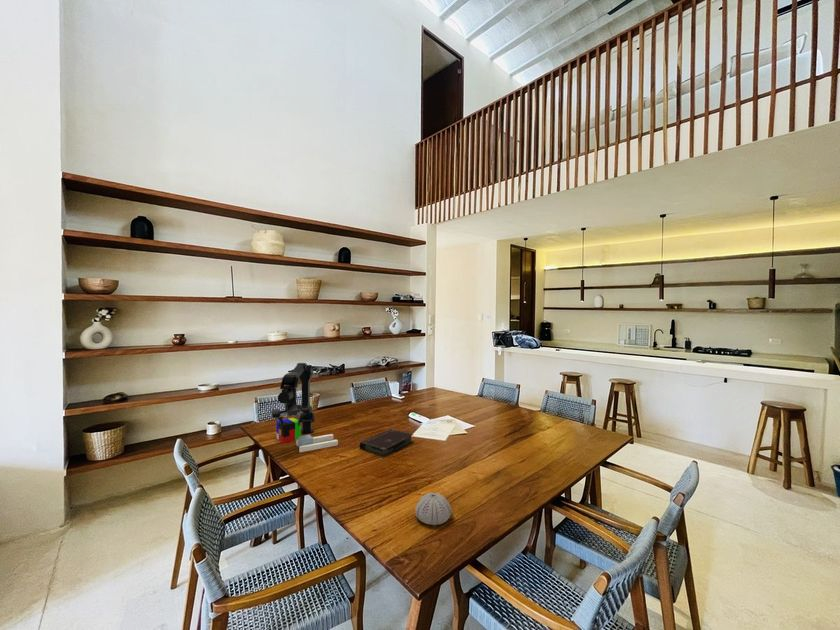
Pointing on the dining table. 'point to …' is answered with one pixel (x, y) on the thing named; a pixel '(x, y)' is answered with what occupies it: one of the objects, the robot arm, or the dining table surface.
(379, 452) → the diary
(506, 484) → the dining table surface
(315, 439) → the chute
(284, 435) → the puzzle toy
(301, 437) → the block
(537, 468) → the dining table surface
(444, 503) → the sea urchin shell
